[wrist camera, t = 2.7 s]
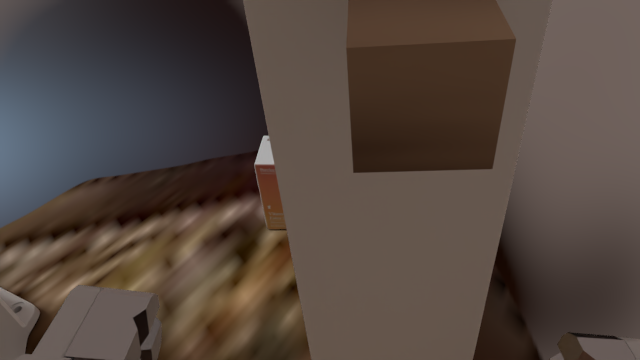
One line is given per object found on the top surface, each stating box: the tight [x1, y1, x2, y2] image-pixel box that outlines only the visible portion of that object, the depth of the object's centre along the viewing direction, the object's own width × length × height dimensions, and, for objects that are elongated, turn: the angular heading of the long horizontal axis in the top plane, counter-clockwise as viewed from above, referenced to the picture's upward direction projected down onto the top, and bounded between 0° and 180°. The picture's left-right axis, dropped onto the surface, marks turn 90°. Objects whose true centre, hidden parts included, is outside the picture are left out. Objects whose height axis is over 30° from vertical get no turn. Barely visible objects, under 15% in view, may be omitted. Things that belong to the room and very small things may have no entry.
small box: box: [254, 136, 286, 229], centre depth 59 cm, size 8×6×10 cm
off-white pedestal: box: [243, 0, 552, 360], centre depth 38 cm, size 18×12×37 cm, turn 177°
